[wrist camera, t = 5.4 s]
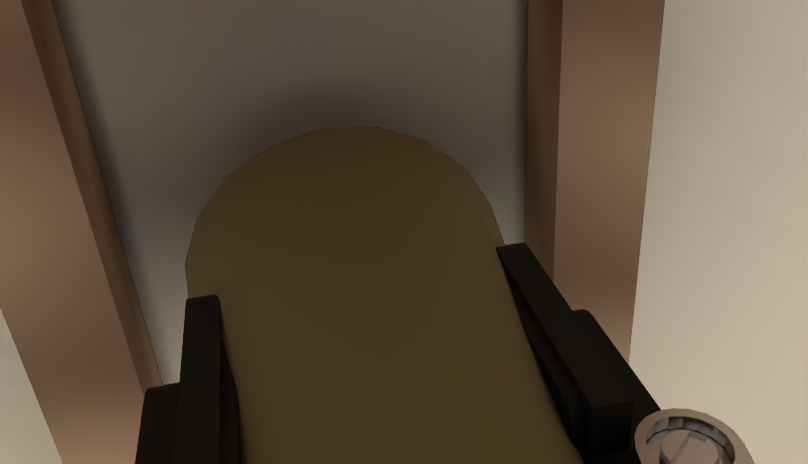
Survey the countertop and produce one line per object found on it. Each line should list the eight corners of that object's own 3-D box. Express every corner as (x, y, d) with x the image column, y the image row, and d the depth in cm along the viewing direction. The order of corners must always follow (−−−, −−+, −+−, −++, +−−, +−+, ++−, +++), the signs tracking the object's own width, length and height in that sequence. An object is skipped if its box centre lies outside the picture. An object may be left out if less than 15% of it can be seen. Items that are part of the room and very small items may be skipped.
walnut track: (-173, -269, 11) (-353, -312, 8) (641, -314, 13) (790, -365, 10) (153, 612, 21) (139, 763, 18) (583, 515, 23) (644, 635, 20)
